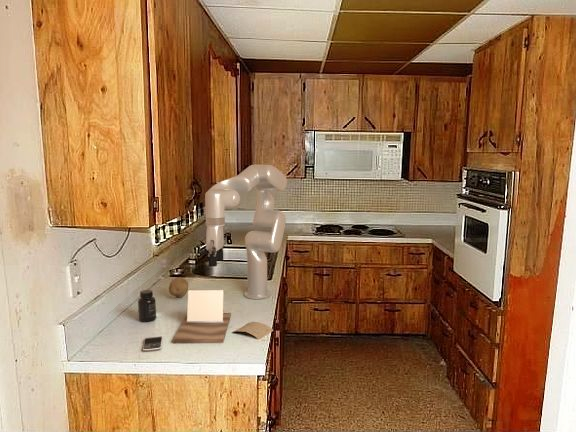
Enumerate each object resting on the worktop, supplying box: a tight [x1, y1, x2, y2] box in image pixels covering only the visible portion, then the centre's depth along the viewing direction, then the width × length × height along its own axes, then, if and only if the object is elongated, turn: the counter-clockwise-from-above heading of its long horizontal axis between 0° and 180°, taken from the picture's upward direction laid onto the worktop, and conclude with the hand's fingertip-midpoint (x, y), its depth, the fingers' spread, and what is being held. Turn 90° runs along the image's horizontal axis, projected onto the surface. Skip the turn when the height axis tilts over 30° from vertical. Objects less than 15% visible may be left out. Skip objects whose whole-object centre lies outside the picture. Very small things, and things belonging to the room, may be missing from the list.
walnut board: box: [172, 312, 232, 344], centre depth 168 cm, size 26×18×2 cm
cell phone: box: [142, 336, 163, 353], centre depth 154 cm, size 6×11×1 cm, turn 13°
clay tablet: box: [233, 321, 274, 340], centre depth 165 cm, size 14×10×3 cm
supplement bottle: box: [137, 289, 157, 323], centre depth 177 cm, size 7×7×12 cm
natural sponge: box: [168, 277, 189, 299], centre depth 203 cm, size 9×9×10 cm
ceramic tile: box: [186, 289, 225, 323], centre depth 171 cm, size 13×14×1 cm
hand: (216, 263), depth 175 cm, fingers open, 9 cm apart
